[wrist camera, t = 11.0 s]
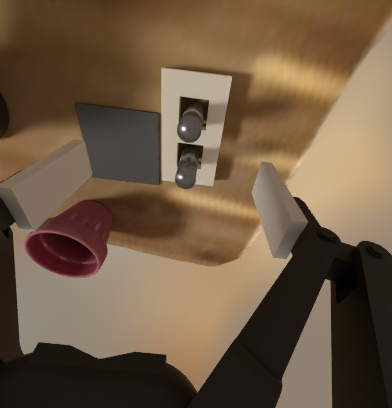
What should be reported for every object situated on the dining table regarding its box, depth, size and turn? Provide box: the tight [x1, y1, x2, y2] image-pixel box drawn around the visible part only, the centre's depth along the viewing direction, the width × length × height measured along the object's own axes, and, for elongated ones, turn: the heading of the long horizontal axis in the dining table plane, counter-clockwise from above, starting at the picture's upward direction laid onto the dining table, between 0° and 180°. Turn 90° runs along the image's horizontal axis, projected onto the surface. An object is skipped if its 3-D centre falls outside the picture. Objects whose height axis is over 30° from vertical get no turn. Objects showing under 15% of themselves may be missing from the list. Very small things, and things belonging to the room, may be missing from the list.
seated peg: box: [175, 144, 199, 189], centre depth 32 cm, size 3×3×11 cm
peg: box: [177, 102, 204, 143], centre depth 28 cm, size 3×3×11 cm
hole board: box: [161, 67, 232, 186], centre depth 34 cm, size 10×18×2 cm, turn 174°
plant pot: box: [24, 200, 113, 278], centre depth 43 cm, size 14×14×13 cm
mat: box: [75, 103, 159, 185], centre depth 37 cm, size 14×14×1 cm
